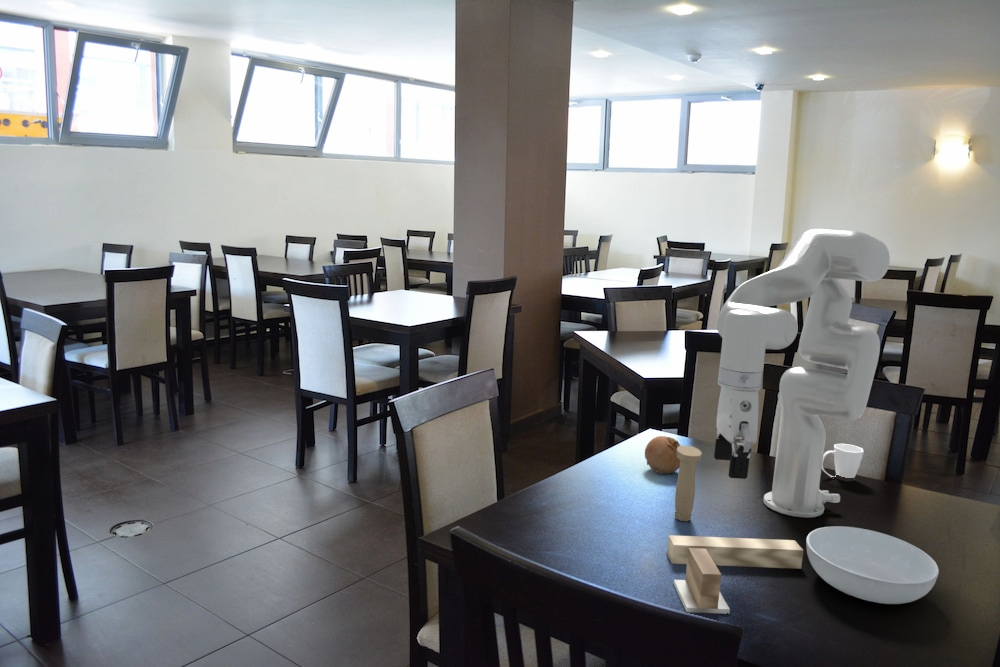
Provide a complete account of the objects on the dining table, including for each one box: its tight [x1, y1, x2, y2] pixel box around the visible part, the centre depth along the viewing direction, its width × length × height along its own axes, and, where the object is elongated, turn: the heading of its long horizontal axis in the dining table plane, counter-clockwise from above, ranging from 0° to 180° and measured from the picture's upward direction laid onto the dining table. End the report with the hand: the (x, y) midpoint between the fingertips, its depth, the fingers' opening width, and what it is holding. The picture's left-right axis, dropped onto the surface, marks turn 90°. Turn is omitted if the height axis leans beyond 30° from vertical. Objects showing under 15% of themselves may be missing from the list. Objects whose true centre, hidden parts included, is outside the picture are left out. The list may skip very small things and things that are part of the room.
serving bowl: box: [805, 525, 940, 605], centre depth 131 cm, size 21×21×7 cm
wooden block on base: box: [673, 548, 731, 615], centre depth 125 cm, size 7×9×7 cm
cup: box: [821, 442, 865, 478], centre depth 184 cm, size 7×10×8 cm
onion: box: [644, 435, 681, 475], centre depth 183 cm, size 10×9×10 cm
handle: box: [674, 445, 703, 522], centre depth 155 cm, size 5×6×15 cm
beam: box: [666, 534, 804, 570], centre depth 139 cm, size 24×4×4 cm, turn 90°
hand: (729, 468), depth 138 cm, fingers open, 9 cm apart
